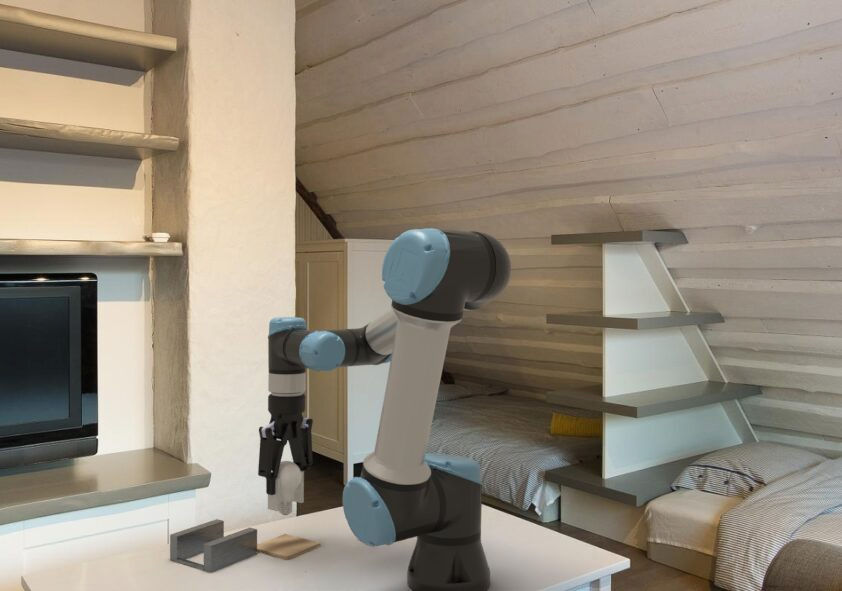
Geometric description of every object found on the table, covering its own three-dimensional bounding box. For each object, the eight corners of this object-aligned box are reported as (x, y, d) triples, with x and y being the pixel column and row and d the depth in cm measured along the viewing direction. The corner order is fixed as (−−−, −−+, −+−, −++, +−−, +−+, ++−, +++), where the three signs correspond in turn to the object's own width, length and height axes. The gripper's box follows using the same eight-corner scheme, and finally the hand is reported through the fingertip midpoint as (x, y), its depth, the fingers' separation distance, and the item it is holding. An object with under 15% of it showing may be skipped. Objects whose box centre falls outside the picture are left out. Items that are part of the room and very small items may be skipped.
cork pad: (320, 545, 164) (320, 542, 164) (287, 559, 156) (287, 556, 156) (284, 536, 170) (284, 533, 170) (250, 549, 162) (250, 547, 161)
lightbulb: (294, 520, 159) (295, 466, 159) (264, 518, 160) (265, 464, 160) (305, 511, 165) (306, 458, 165) (276, 509, 167) (277, 456, 166)
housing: (257, 554, 159) (257, 529, 159) (210, 572, 149) (211, 546, 149) (216, 543, 165) (217, 519, 165) (170, 560, 155) (170, 534, 155)
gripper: (304, 386, 172) (303, 492, 173) (238, 397, 156) (238, 514, 157) (331, 389, 168) (330, 497, 169) (266, 401, 152) (265, 521, 153)
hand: (285, 505), depth 163 cm, fingers closed on lightbulb, 6 cm apart
